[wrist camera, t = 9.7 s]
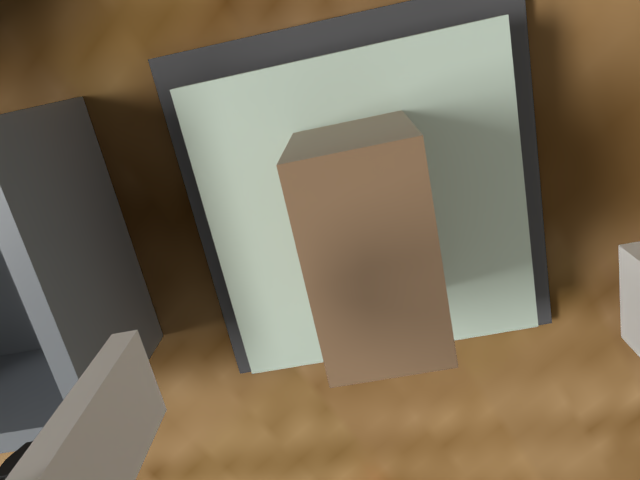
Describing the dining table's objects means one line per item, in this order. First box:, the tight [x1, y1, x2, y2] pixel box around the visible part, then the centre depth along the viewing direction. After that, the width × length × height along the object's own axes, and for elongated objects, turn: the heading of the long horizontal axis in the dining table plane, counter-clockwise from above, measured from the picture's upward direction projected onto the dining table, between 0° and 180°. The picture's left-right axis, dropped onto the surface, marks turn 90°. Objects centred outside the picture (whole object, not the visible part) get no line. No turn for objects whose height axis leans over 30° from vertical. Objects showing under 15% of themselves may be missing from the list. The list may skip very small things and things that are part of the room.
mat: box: [148, 0, 552, 373], centre depth 30 cm, size 18×18×1 cm
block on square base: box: [170, 14, 538, 388], centre depth 25 cm, size 15×15×10 cm
